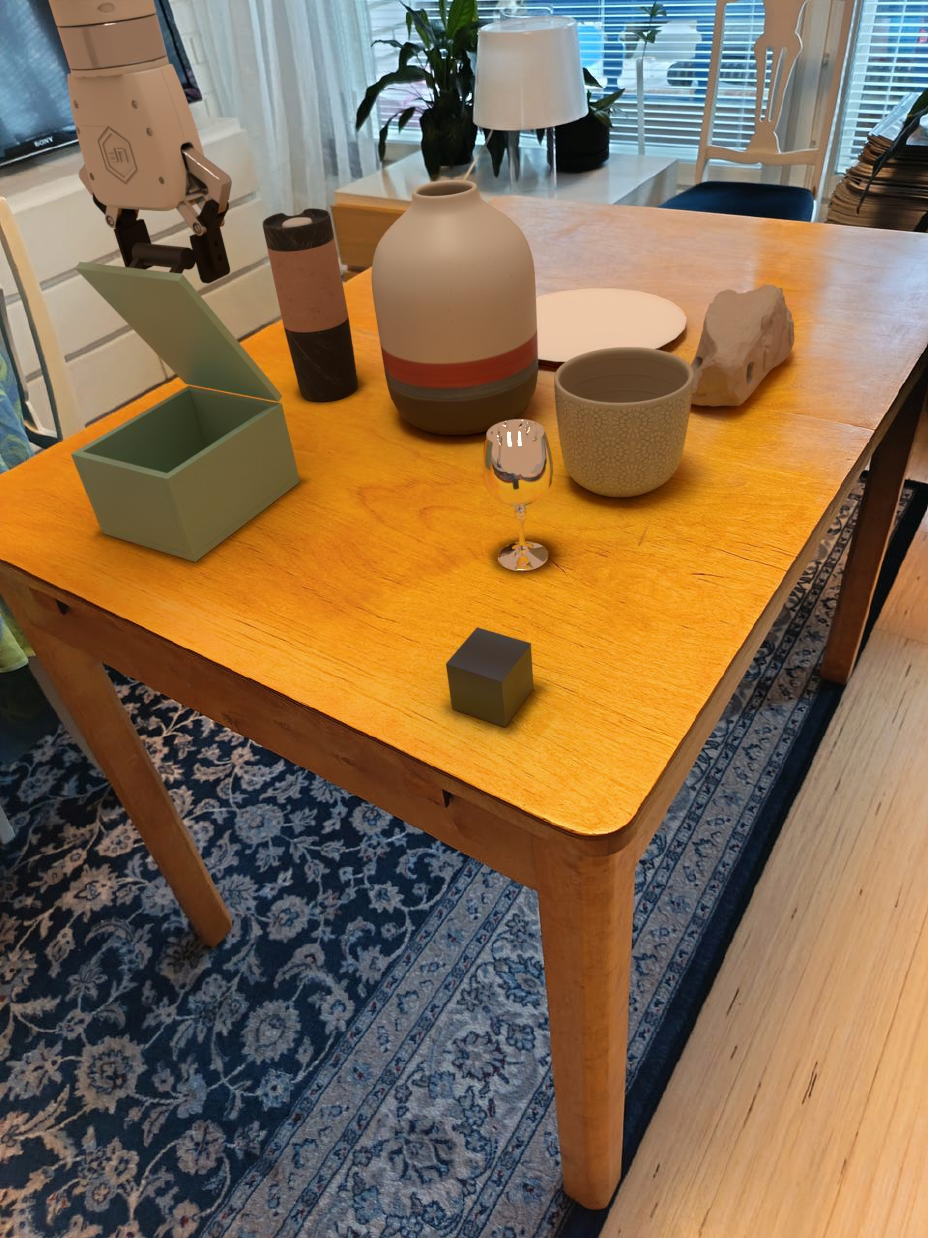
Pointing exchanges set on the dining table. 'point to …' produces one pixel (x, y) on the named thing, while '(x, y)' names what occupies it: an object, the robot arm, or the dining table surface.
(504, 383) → the vase
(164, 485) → the cool box
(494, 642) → the block
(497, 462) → the wineglass
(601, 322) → the plate
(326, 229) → the travel mug
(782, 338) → the decorative stone
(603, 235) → the dining table surface
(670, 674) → the dining table surface
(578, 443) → the planter
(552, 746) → the dining table surface
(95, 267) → the cool box lid
